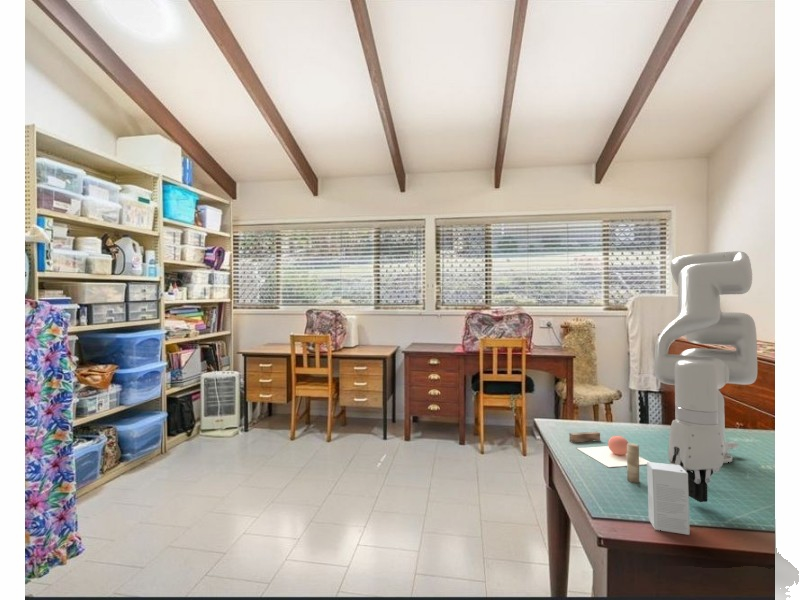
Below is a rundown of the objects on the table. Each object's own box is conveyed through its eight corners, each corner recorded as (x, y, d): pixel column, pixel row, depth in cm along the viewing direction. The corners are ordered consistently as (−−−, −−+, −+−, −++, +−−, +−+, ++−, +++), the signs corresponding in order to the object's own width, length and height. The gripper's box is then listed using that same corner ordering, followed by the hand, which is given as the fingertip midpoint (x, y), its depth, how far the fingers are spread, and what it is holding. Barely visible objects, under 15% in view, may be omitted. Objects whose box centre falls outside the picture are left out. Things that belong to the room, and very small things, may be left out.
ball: (618, 435, 117) (630, 434, 112) (624, 454, 115) (636, 454, 109) (602, 436, 116) (613, 436, 111) (607, 456, 114) (618, 456, 109)
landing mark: (617, 446, 120) (617, 445, 120) (653, 464, 106) (653, 463, 106) (576, 448, 117) (576, 448, 117) (608, 467, 104) (608, 467, 104)
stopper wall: (596, 439, 126) (596, 431, 126) (600, 440, 125) (600, 433, 125) (569, 440, 124) (569, 433, 125) (572, 442, 123) (572, 434, 123)
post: (633, 478, 97) (633, 442, 98) (641, 482, 95) (641, 446, 95) (624, 478, 97) (624, 443, 97) (632, 483, 94) (632, 447, 95)
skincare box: (681, 524, 77) (680, 464, 77) (690, 536, 73) (689, 473, 73) (647, 518, 79) (646, 460, 79) (653, 530, 75) (652, 469, 75)
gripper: (708, 409, 89) (709, 488, 89) (652, 412, 87) (654, 493, 86) (742, 419, 82) (743, 504, 81) (682, 422, 79) (683, 510, 79)
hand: (697, 498), depth 84 cm, fingers closed
